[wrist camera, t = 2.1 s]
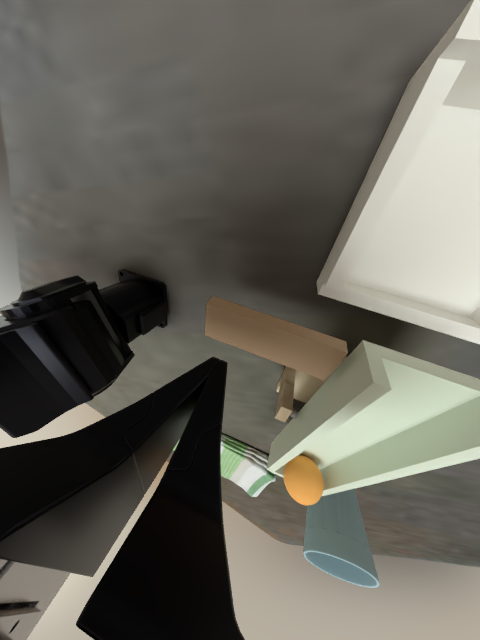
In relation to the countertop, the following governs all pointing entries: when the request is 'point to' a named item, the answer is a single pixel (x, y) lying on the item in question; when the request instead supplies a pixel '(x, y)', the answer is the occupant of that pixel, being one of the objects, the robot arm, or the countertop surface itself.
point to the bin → (421, 200)
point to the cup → (339, 539)
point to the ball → (303, 480)
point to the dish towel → (244, 465)
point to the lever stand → (296, 390)
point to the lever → (359, 403)
